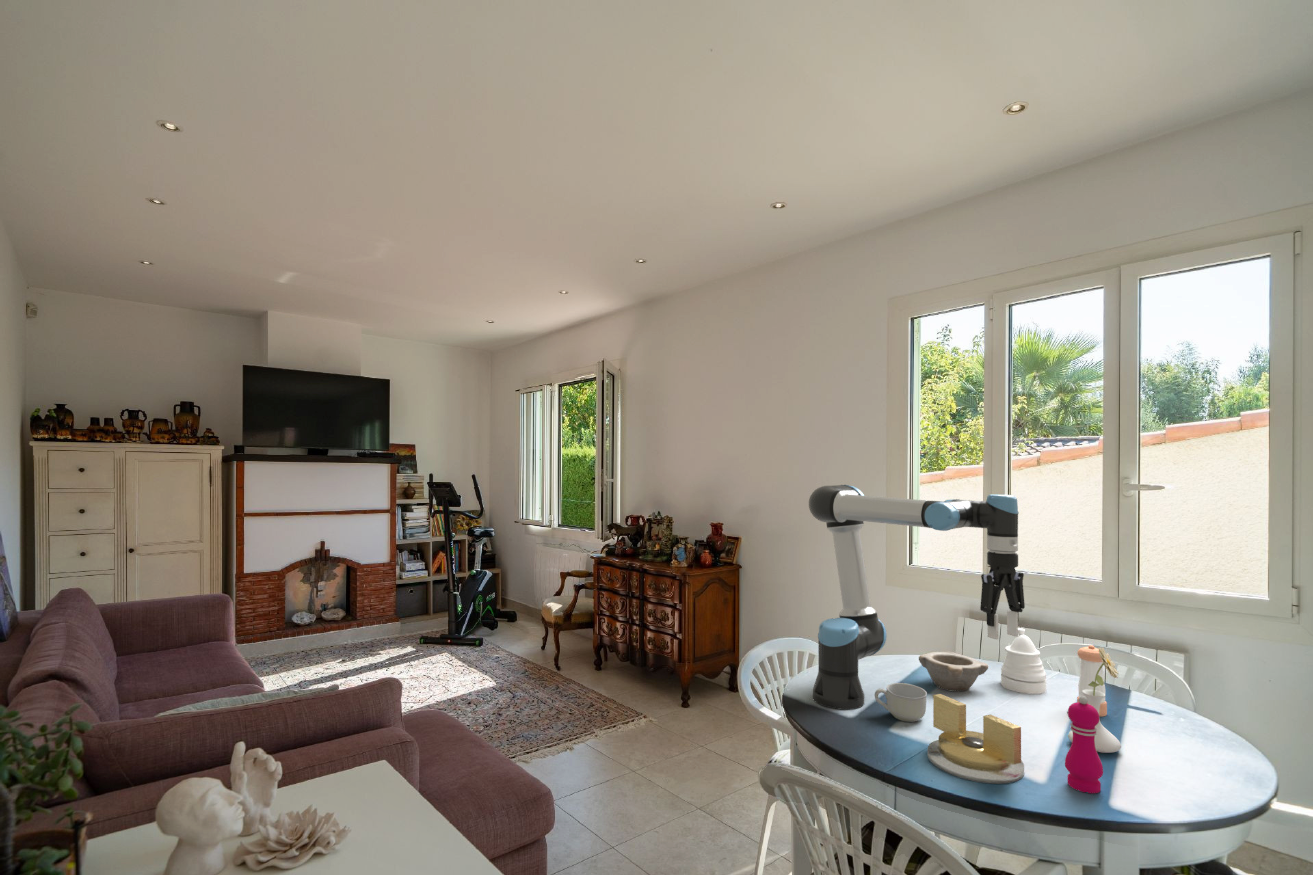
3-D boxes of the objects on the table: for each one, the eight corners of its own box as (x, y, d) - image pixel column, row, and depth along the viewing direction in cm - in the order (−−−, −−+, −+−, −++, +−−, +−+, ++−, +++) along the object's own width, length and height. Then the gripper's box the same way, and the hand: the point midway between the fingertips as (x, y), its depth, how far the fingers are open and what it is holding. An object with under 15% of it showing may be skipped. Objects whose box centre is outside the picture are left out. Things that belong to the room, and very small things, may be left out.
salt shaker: (1106, 718, 190) (1105, 650, 191) (1075, 712, 195) (1075, 645, 195) (1107, 711, 196) (1107, 644, 197) (1078, 705, 201) (1078, 640, 201)
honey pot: (995, 679, 224) (994, 624, 224) (1036, 681, 222) (1036, 626, 223) (1009, 692, 211) (1009, 634, 212) (1053, 695, 209) (1053, 636, 210)
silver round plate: (926, 772, 156) (926, 765, 156) (928, 738, 175) (928, 731, 175) (1029, 791, 148) (1029, 783, 148) (1019, 753, 167) (1019, 746, 167)
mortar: (993, 692, 211) (993, 662, 211) (953, 699, 205) (953, 668, 205) (951, 676, 227) (951, 648, 227) (912, 681, 220) (912, 653, 220)
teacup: (925, 713, 193) (925, 685, 193) (928, 727, 182) (928, 697, 183) (874, 707, 197) (874, 679, 197) (874, 720, 187) (874, 691, 187)
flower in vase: (1104, 760, 163) (1104, 657, 164) (1058, 743, 173) (1057, 645, 174) (1134, 750, 169) (1133, 650, 170) (1088, 734, 179) (1087, 639, 180)
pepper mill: (1057, 779, 153) (1057, 690, 154) (1087, 778, 154) (1086, 690, 155) (1080, 795, 146) (1079, 702, 147) (1111, 794, 147) (1110, 701, 148)
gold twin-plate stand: (932, 761, 157) (932, 716, 158) (933, 733, 173) (933, 692, 174) (1022, 777, 150) (1021, 729, 150) (1014, 746, 166) (1014, 703, 166)
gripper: (988, 555, 175) (988, 643, 175) (1040, 551, 183) (1040, 636, 183) (964, 551, 182) (964, 636, 182) (1015, 548, 190) (1015, 629, 190)
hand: (1002, 636), depth 182 cm, fingers open, 7 cm apart
